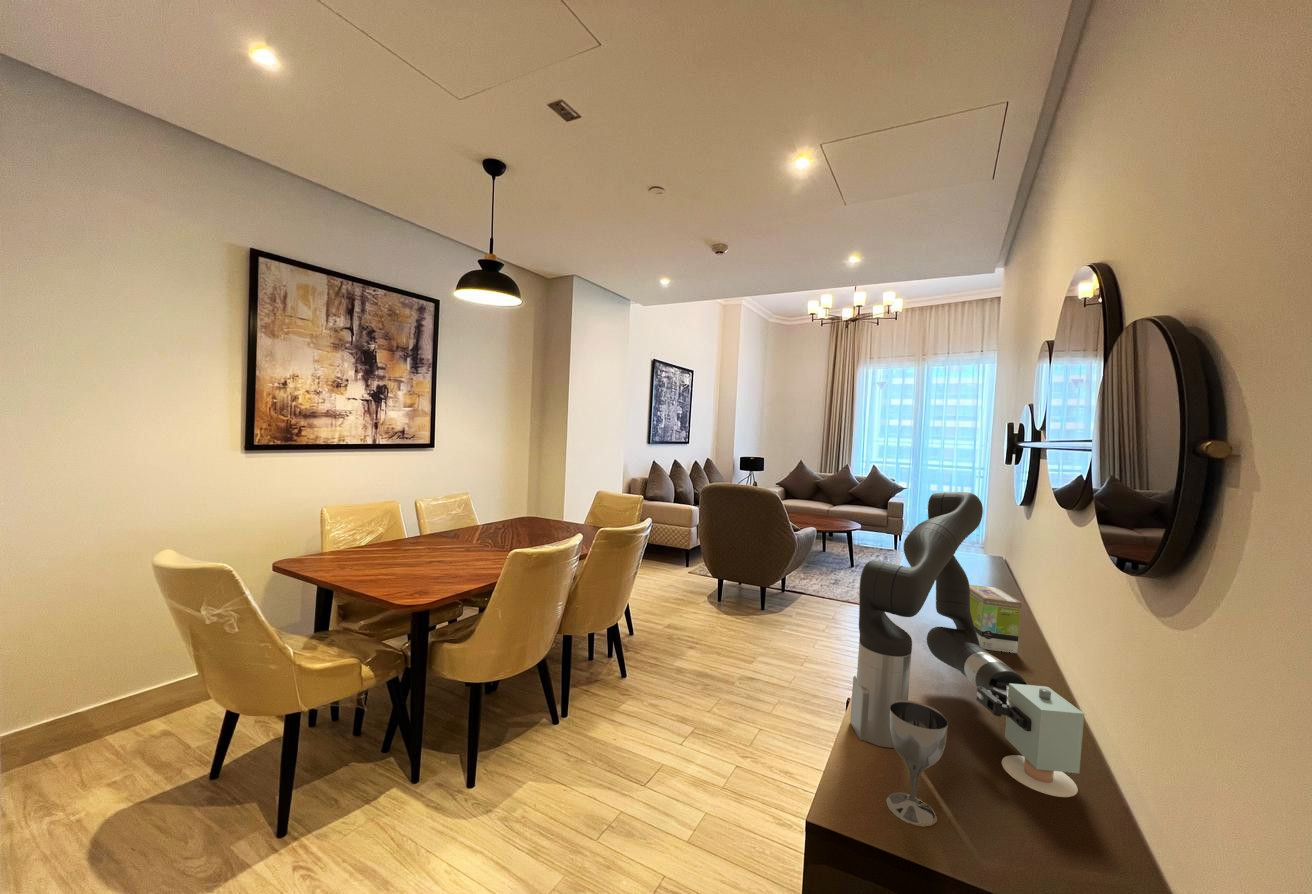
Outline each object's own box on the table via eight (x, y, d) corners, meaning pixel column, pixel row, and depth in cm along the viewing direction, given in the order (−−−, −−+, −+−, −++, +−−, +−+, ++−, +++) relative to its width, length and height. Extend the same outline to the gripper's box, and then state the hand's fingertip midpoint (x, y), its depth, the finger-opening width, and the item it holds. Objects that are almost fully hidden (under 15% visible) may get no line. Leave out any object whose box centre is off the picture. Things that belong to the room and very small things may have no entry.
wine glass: (922, 791, 82) (928, 701, 81) (952, 830, 74) (960, 730, 73) (874, 790, 81) (880, 699, 81) (899, 828, 73) (906, 728, 73)
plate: (1025, 797, 82) (1026, 792, 82) (988, 756, 92) (989, 752, 92) (1093, 805, 81) (1094, 800, 81) (1049, 763, 91) (1049, 758, 91)
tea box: (1019, 654, 140) (1023, 602, 139) (979, 649, 142) (983, 597, 141) (994, 633, 154) (997, 586, 154) (958, 629, 156) (961, 582, 156)
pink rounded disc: (1033, 781, 85) (1034, 769, 84) (1018, 765, 89) (1019, 754, 88) (1058, 784, 84) (1059, 772, 84) (1042, 768, 88) (1043, 757, 88)
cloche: (1036, 769, 82) (1041, 702, 82) (1004, 737, 91) (1009, 676, 91) (1079, 773, 82) (1084, 706, 81) (1043, 740, 90) (1048, 680, 90)
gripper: (957, 657, 101) (1008, 702, 84) (1033, 663, 100) (1100, 710, 83) (955, 693, 101) (1005, 745, 85) (1030, 700, 100) (1096, 754, 83)
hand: (1052, 728), depth 84 cm, fingers closed on cloche, 6 cm apart
